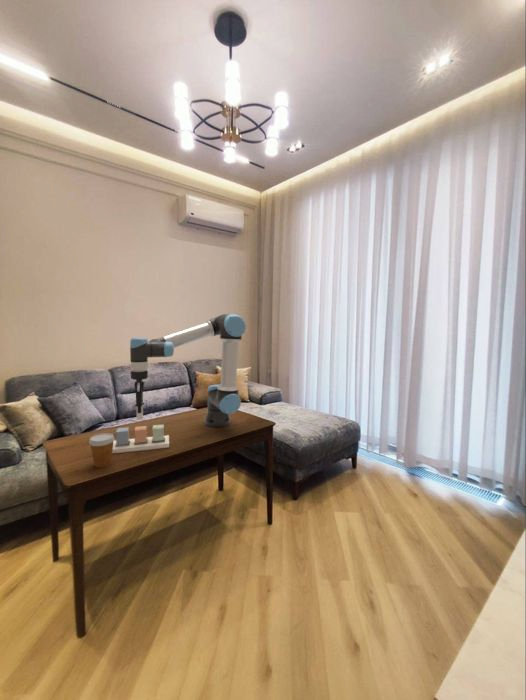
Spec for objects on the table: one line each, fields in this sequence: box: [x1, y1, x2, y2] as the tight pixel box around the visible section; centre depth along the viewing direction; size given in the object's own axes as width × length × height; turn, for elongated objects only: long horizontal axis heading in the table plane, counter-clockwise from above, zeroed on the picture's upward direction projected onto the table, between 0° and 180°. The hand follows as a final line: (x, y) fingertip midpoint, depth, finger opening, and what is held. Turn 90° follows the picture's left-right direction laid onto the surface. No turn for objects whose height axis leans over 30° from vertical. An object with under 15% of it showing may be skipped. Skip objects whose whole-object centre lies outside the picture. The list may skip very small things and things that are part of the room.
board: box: [112, 434, 170, 455], centre depth 147 cm, size 26×11×2 cm, turn 108°
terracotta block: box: [134, 425, 148, 443], centre depth 146 cm, size 5×5×6 cm
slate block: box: [115, 427, 130, 445], centre depth 144 cm, size 5×5×6 cm
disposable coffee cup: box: [88, 432, 116, 469], centre depth 128 cm, size 10×10×12 cm
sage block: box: [152, 424, 165, 441], centre depth 149 cm, size 5×5×6 cm
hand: (139, 418), depth 145 cm, fingers closed
